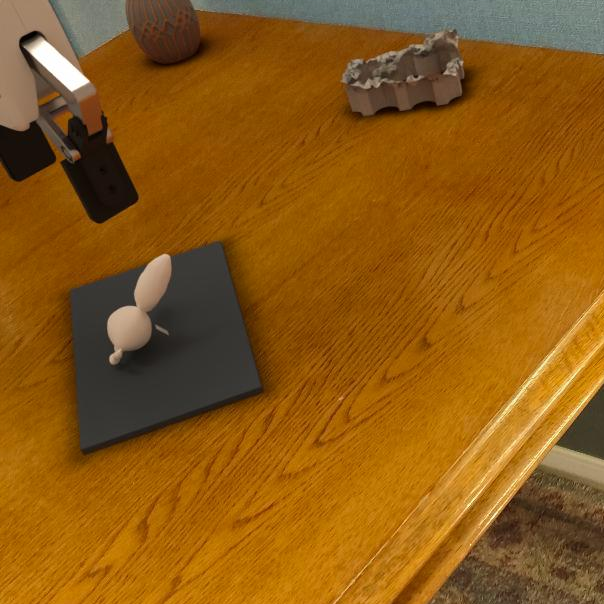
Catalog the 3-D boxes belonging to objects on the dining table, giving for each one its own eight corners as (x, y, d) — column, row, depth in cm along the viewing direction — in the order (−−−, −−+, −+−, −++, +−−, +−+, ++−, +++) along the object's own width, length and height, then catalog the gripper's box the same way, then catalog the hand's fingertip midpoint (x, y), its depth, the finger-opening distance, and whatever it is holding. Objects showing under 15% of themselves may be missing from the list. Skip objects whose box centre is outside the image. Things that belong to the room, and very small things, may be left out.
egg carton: (471, 71, 93) (462, 25, 90) (461, 110, 88) (451, 63, 85) (361, 84, 95) (349, 39, 92) (345, 122, 90) (331, 77, 87)
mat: (74, 298, 77) (69, 289, 77) (224, 248, 79) (220, 239, 78) (86, 458, 64) (80, 449, 64) (265, 395, 66) (261, 386, 65)
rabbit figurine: (87, 358, 70) (136, 257, 71) (142, 384, 72) (189, 285, 73) (95, 350, 65) (147, 242, 66) (153, 379, 67) (204, 273, 68)
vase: (154, 78, 103) (114, -12, 97) (139, 57, 108) (100, -30, 101) (217, 55, 105) (182, -35, 98) (199, 36, 109) (165, -52, 103)
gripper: (-228, -112, 53) (-43, 184, 66) (-83, -70, 44) (98, 262, 57) (-97, -160, 56) (55, 131, 69) (62, -129, 47) (202, 198, 60)
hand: (74, 190), depth 63 cm, fingers open, 9 cm apart
